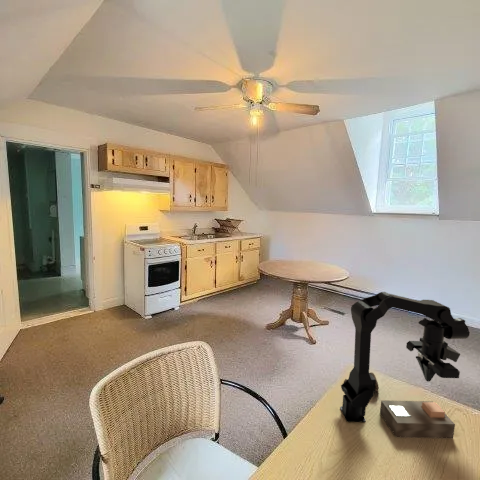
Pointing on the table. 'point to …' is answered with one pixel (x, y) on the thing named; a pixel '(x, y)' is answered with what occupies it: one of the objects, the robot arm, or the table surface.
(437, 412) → the terracotta plug
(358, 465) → the table surface
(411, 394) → the table surface
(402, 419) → the plug panel
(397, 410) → the aluminium plug
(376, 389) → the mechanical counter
